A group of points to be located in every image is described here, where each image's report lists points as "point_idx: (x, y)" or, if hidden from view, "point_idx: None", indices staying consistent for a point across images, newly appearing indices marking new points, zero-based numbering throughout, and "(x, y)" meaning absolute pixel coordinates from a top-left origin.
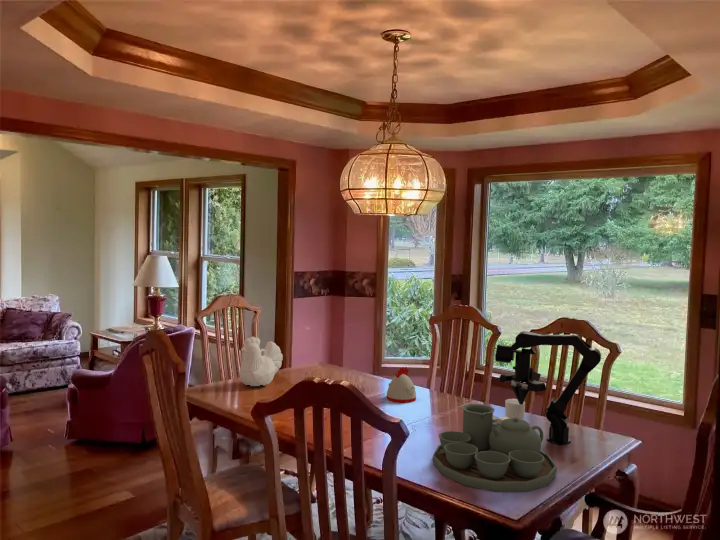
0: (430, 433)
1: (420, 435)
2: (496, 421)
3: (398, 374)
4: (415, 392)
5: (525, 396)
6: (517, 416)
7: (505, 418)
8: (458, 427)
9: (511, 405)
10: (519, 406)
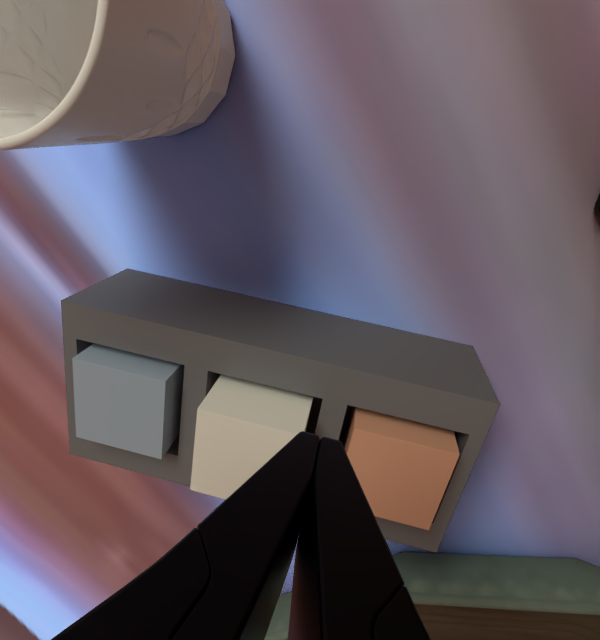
0: (26, 572)
1: (30, 612)
2: (172, 419)
3: None
4: None
5: (399, 603)
6: (177, 100)
7: (243, 457)
8: (7, 420)
9: (33, 146)
10: (120, 66)
